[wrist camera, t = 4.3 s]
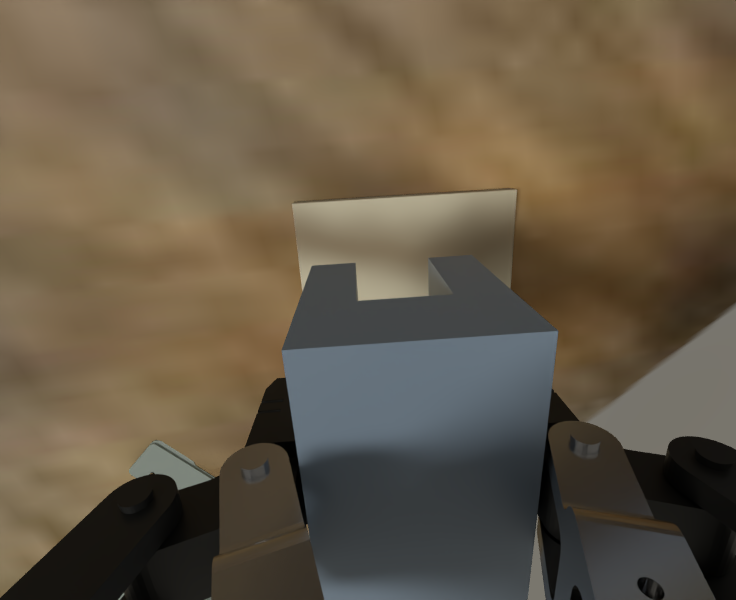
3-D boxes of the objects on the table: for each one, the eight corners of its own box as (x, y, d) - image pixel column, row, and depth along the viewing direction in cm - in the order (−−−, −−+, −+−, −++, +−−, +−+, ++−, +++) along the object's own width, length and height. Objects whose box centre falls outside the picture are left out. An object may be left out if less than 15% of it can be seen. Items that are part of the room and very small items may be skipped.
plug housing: (311, 265, 11) (281, 350, 6) (471, 254, 11) (557, 330, 6) (334, 467, 13) (324, 636, 9) (465, 458, 14) (524, 620, 9)
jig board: (294, 201, 24) (285, 209, 21) (509, 187, 24) (535, 193, 21) (323, 446, 30) (319, 483, 27) (495, 433, 31) (513, 469, 27)
